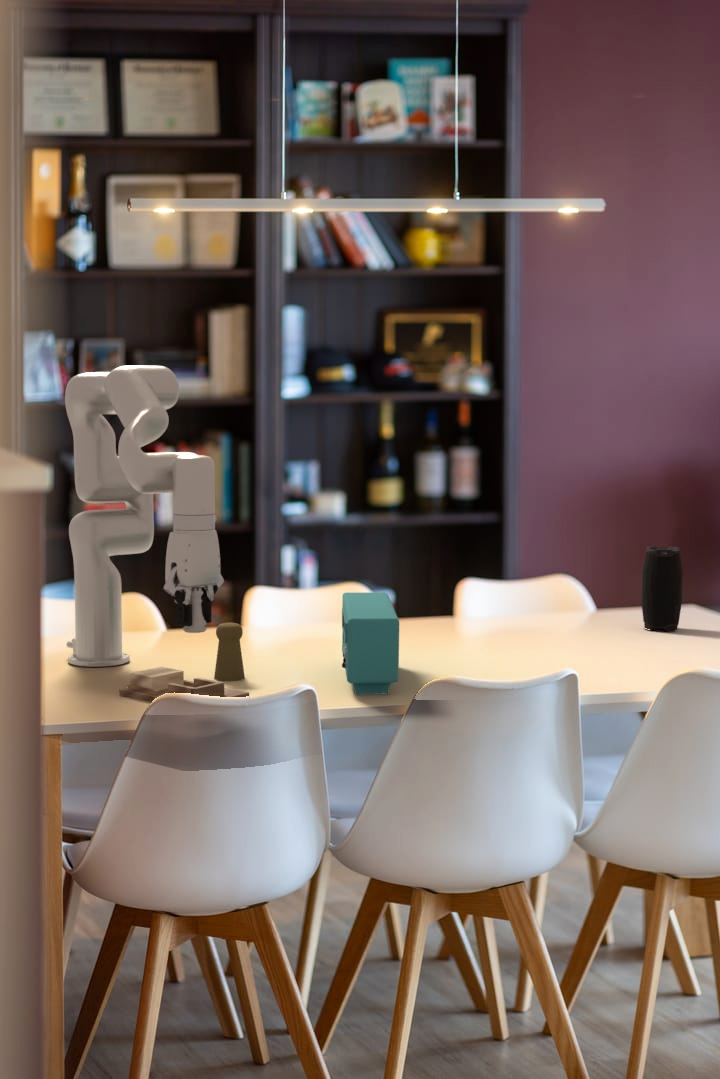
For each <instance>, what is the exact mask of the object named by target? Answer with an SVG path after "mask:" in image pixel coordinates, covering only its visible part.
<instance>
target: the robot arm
mask: <svg viewBox="0 0 720 1079" xmlns="http://www.w3.org/2000/svg"><path fill="white" fill-rule="evenodd" d="M64 394H65V395H64V401H65V402H64V403H65V404H64V405H65V410H66V414H67V418H68V421H69V424H70V427H71V431H72V437H73V466H74V485H75V491H76V495H77V497H78V499H79V500H81V501H82V502H84V503H89V504H108V503H109V504H110V503H124V504H125V508H117V509H115V508H107V509H91V510H85V511H81V512H79V513H77V514H76V515H74V516H73V517H72V519H71V520H70V523H69V526H68V536H69V537H68V538H69V542H70V547H71V554H72V559H73V572H74V573H73V574H74V575H73V576H74V626H75V631H74V632H75V635H74V636H75V637H73V638H72V639H71V641H67V642H66V647H67V648H71V649H72V654H70V655H68V658H67V661H68V663H69V665H72V666H78V667H90V668H91V667H92V668H93V667H94V668H100V667H101V668H102V667H113V666H114V667H115V666H119V665H124V664H127V663H128V662H130V660H131V658H130V656H131V655H130V654H129V653H127V652H123V625H122V623H123V621H122V620H123V614H122V613H123V609H122V603H123V602H122V577H121V573H120V572H119V570H118V568H117V567H116V566H115V564H114V563H113V562H112V560H111V559H110V557H112V556H119V555H120V556H122V555H123V556H124V555H133V554H134V555H135V554H142V553H145V552H147V551H149V550H150V548H151V547H152V545H153V541H154V536H155V535H154V534H155V521H154V520H155V518H154V516H155V515H154V513H155V510H154V494H172V531H170V532H169V535H168V538H167V539H168V540H167V545H166V555H165V572H164V573H165V574H164V575H165V576H164V577H165V578H164V580H165V584H164V585H163V590H164V591H165V593H167V594H169V595H170V596H171V598H172V599H173V600H174V603H175V604H177V606H176V607H177V625H178V626H184V627H185V626H192V604H189V602H190V595H191V588H192V587H195V588H197V587H201V590H202V591H203V594H202V596H201V600H202V602H201V608H202V614H203V617H204V620H205V621H206V623H207V624H210V623H212V602H213V601H214V600H215V596H216V594H217V592H218V590H219V588H220V587H221V586H222V585H223V584H224V583H225V580H224V577H223V576H222V574H221V554H220V543H219V537H218V533H217V530H216V522H217V520H218V517H217V516H216V514H215V513H216V506H215V505H216V504H215V501H216V500H215V499H216V497H215V496H216V494H215V493H216V491H215V490H216V489H215V488H216V487H215V485H216V484H215V483H216V482H215V480H216V479H215V478H216V476H215V475H216V474H215V473H216V470H215V462H214V460H213V458H212V457H211V456H208V455H204V454H203V455H201V454H197V453H195V452H191V451H189V452H188V451H178V452H175V451H174V452H173V451H167V452H166V451H163V452H162V451H161V452H158V451H157V452H145V451H143V450H142V447H144V446H147V445H149V444H151V443H152V442H154V441H157V440H158V439H159V438H160V437H161V436H162V435H163V434H164V433H165V432H166V430H167V429H168V426H169V420H170V419H169V415H168V412H167V410H169V409H171V408H173V407H174V406H175V405H176V404H177V402H178V400H179V396H180V384H179V380H178V377H177V376H176V375H175V373H174V372H173V371H172V370H171V369H170V368H168V367H167V366H164V365H121V366H119V367H115V368H113V369H111V371H95V372H93V371H91V372H84V373H78V374H76V375H74V376H72V377H71V378H70V379H69V381H68V382H67V385H66V387H65V393H64ZM104 415H117V417H118V418H119V420H120V422H121V424H122V426H123V428H124V429H123V431H122V433H121V435H120V437H119V441H118V449H117V448H116V446H117V444H116V433H115V431H114V429H113V427H112V426H111V424H110V423H109V422H108V420H107V419H106V417H105V416H104ZM117 450H118V451H117ZM117 452H118V454H117Z"/></svg>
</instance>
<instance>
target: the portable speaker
mask: <svg viewBox="0 0 720 1079" xmlns="http://www.w3.org/2000/svg"><path fill="white" fill-rule="evenodd" d="M681 556H682V555H681V550H680V547H678V546H668V547H657V546H656V545H655V546H654V545H651V546H647V547H646V552H645V557H644V562H643V567H642V570H641V571H642V572H641V573H642V574H641V575H642V577H641V611H642V612H641V613H642V618H643V623H644V629H645V628H647V629H650V630H652V631H653V630H654V629H664V631H665V632H666V631H672V632H676V631H678V626H679V623H680V617H681V610H682V602H683V601H682V598H683V574H684V573H683V565H682V559H681ZM675 630H676V631H675Z"/></svg>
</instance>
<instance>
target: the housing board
mask: <svg viewBox="0 0 720 1079" xmlns="http://www.w3.org/2000/svg"><path fill="white" fill-rule="evenodd" d="M126 686H127V687H124V688H119V690H118V691H119V692H118V693H119V694H118V695H119V697H124V698H128V699H133V700H136V701H137V700H138V701H142V702H146V703H151V702H152V701H153V700H154V699H155V698H157V697H159V696H161V695H163V694H165V693H174V692H175V693H191V694H199V695H209V696H220V697H246V696H249V697H250V692H248V691H243V690H238V689H234V688H233V689H232V688H228V687H225V682H224V681H218V680H212V679H206V678H203V677H194V678H193V681H192V680H188V679H184V685H180V684H174V683H169V684H168V689H165V690H160V691H158V690H153V689H148V688H143V687H139V686H134V685H130V684H126Z"/></svg>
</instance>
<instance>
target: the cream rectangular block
mask: <svg viewBox="0 0 720 1079" xmlns="http://www.w3.org/2000/svg"><path fill="white" fill-rule="evenodd" d="M184 673H185V672H184V670H181V669H175V668H172V667H171V668H170V667H164V666H159V667H154V668H153V667H152V668H148V669H143V670H138V671H132V672H130V673H129V685H134V686H139V687H143V688H148V689H153V690H158V691H160V690H165V689H168V684H169V683H174V684H180V685H184V680H185V679H184V677H185V676H184Z"/></svg>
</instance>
